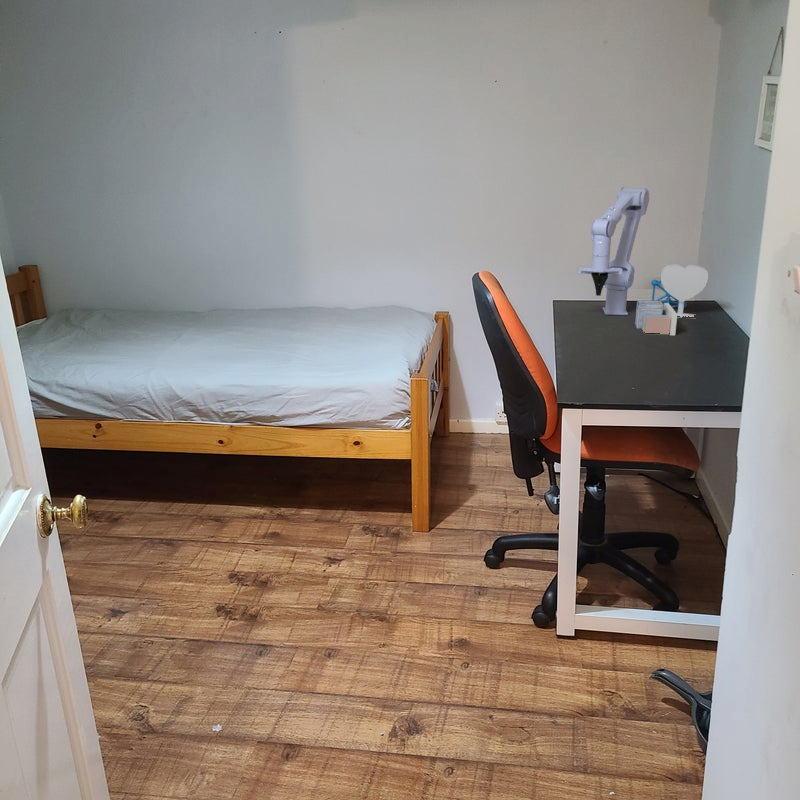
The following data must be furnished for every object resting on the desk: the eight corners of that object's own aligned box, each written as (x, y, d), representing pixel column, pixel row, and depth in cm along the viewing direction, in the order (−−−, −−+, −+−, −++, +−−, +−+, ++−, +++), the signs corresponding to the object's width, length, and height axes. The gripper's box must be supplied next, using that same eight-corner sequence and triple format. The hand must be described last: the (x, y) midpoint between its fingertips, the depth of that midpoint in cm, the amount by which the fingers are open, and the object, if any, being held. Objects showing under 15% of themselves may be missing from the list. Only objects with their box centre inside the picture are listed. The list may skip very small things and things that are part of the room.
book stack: (637, 321, 278) (639, 301, 276) (665, 322, 277) (667, 302, 275) (644, 334, 263) (646, 313, 260) (675, 335, 261) (677, 314, 259)
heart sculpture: (702, 315, 286) (708, 264, 280) (703, 318, 281) (709, 267, 275) (657, 312, 290) (661, 262, 284) (657, 316, 286) (661, 265, 279)
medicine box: (658, 325, 273) (660, 300, 270) (661, 329, 269) (663, 303, 266) (634, 325, 274) (636, 300, 271) (636, 328, 270) (639, 303, 267)
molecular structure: (668, 303, 304) (670, 276, 301) (687, 308, 296) (690, 281, 292) (647, 306, 300) (650, 279, 297) (667, 311, 292) (670, 284, 288)
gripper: (579, 257, 269) (577, 297, 273) (624, 257, 267) (621, 297, 271) (578, 253, 275) (575, 292, 280) (622, 253, 273) (618, 293, 278)
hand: (598, 295), depth 276 cm, fingers closed
